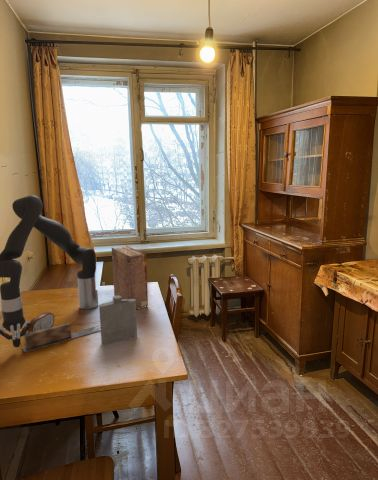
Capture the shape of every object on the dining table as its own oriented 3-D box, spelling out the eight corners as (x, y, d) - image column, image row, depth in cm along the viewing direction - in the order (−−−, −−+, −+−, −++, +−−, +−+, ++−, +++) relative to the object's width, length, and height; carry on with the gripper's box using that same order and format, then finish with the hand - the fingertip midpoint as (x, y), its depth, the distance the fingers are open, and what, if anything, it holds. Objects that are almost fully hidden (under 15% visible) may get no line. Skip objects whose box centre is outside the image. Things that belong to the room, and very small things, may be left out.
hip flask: (102, 344, 152) (99, 301, 148) (100, 340, 156) (97, 298, 152) (138, 337, 159) (136, 295, 155) (135, 333, 162) (133, 292, 158)
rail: (102, 325, 171) (102, 324, 171) (106, 329, 167) (106, 328, 167) (21, 347, 151) (21, 346, 150) (24, 352, 147) (24, 351, 146)
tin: (51, 324, 173) (49, 308, 171) (56, 325, 172) (55, 309, 170) (28, 338, 159) (26, 321, 157) (33, 339, 158) (31, 322, 156)
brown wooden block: (69, 334, 161) (68, 321, 160) (72, 337, 158) (70, 324, 157) (25, 346, 151) (24, 333, 150) (27, 349, 148) (26, 336, 146)
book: (114, 297, 208) (111, 247, 202) (128, 293, 213) (126, 245, 207) (132, 311, 188) (130, 256, 182) (148, 307, 193) (146, 253, 187)
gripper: (27, 301, 150) (32, 338, 154) (-8, 308, 143) (-3, 347, 146) (31, 306, 144) (35, 345, 148) (-5, 314, 137) (0, 355, 140)
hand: (17, 346), depth 147 cm, fingers closed
